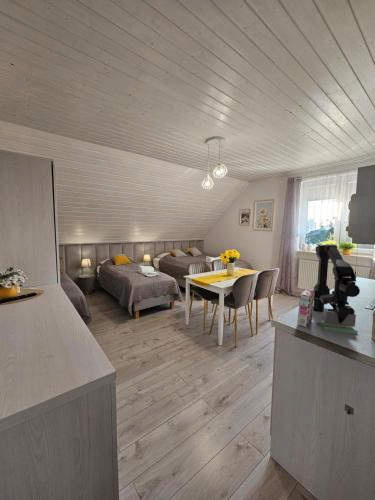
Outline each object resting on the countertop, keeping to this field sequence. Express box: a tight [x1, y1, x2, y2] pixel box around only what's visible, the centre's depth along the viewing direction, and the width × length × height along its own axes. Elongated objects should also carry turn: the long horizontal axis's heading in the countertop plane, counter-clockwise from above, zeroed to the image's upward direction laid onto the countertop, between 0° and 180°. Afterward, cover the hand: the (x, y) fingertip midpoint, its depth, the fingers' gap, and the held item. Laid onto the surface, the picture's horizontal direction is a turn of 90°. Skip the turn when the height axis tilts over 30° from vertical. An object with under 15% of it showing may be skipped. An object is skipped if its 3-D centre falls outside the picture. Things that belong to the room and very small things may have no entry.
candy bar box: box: [296, 289, 314, 329], centre depth 115 cm, size 11×5×16 cm, turn 141°
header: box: [319, 319, 359, 335], centre depth 110 cm, size 8×14×5 cm, turn 73°
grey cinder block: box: [322, 307, 357, 328], centre depth 110 cm, size 5×12×6 cm, turn 73°
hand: (338, 321), depth 110 cm, fingers closed on grey cinder block, 5 cm apart
